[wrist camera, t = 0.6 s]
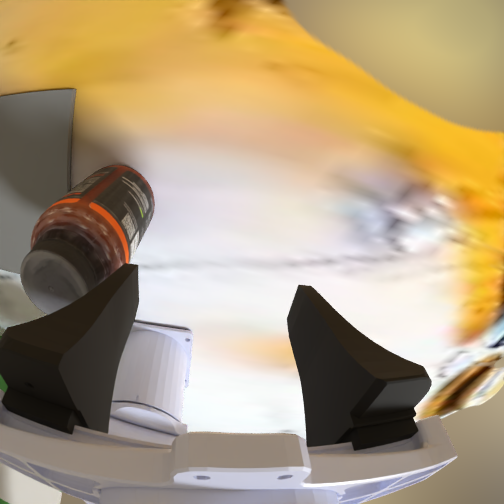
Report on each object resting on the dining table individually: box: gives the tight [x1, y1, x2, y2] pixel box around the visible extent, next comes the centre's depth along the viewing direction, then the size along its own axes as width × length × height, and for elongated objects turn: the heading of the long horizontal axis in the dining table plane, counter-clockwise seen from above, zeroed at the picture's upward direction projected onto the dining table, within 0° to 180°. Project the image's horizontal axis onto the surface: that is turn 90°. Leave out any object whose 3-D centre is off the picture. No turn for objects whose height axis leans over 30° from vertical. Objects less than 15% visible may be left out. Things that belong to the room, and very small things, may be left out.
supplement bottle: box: [20, 165, 155, 315], centre depth 16 cm, size 6×6×11 cm
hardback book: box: [0, 336, 62, 504], centre depth 21 cm, size 18×7×24 cm, turn 178°
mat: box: [0, 89, 76, 274], centre depth 19 cm, size 17×15×1 cm
